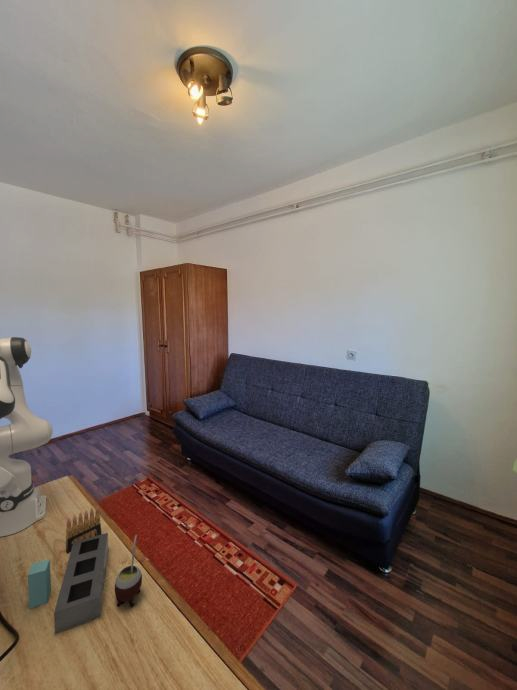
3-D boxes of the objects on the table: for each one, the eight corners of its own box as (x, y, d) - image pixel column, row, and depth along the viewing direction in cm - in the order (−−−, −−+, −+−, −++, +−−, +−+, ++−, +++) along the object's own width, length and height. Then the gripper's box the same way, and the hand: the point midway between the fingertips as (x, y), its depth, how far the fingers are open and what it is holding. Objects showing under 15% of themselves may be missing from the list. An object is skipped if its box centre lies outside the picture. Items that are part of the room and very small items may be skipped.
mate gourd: (119, 617, 74) (118, 566, 72) (110, 595, 79) (109, 547, 78) (147, 598, 79) (147, 550, 78) (137, 579, 85) (136, 534, 83)
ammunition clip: (67, 553, 93) (65, 520, 92) (65, 550, 94) (64, 517, 93) (101, 536, 101) (100, 505, 100) (100, 533, 102) (99, 503, 101)
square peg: (34, 595, 79) (32, 563, 78) (51, 590, 81) (49, 558, 80) (29, 608, 75) (27, 575, 74) (47, 602, 77) (45, 570, 76)
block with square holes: (74, 558, 91) (73, 541, 91) (108, 548, 95) (107, 532, 95) (54, 633, 69) (54, 612, 69) (100, 617, 74) (99, 597, 73)
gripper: (-9, 449, 65) (38, 483, 71) (-31, 451, 76) (11, 481, 81) (-39, 474, 60) (14, 508, 66) (-58, 473, 71) (-12, 502, 77)
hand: (12, 493), depth 74 cm, fingers open, 8 cm apart
